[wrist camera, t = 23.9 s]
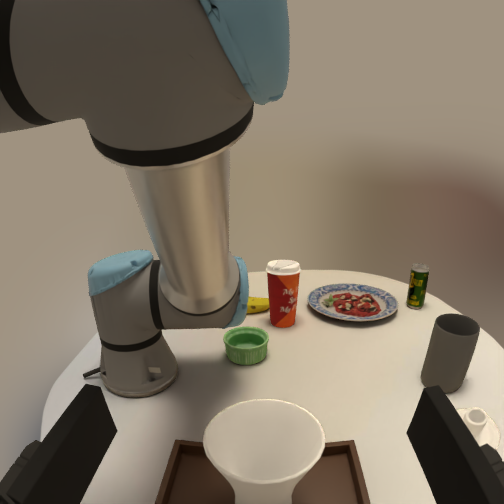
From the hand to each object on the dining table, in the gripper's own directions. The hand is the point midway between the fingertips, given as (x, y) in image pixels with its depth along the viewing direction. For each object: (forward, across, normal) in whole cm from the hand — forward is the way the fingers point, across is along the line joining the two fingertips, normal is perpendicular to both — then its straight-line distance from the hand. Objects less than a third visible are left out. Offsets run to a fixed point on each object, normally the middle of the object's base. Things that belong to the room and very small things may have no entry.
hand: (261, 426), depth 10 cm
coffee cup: (+60, +4, -26) cm, 65 cm away
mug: (+33, +35, -26) cm, 55 cm away
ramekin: (+45, -4, -26) cm, 52 cm away
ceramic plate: (+68, +24, -26) cm, 76 cm away
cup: (+10, 0, -25) cm, 27 cm away
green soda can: (+66, +43, -26) cm, 83 cm away
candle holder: (+16, +31, -26) cm, 44 cm away
